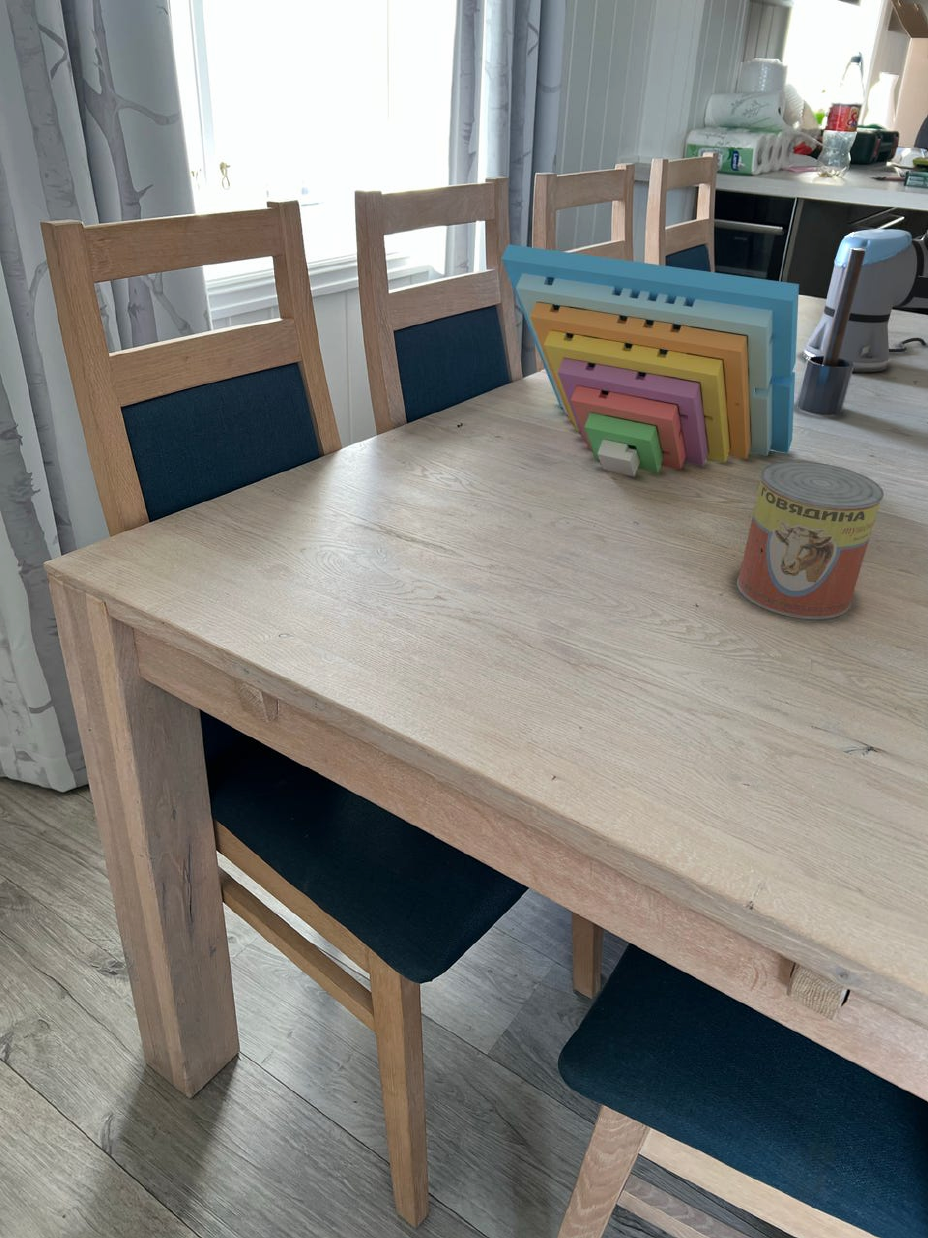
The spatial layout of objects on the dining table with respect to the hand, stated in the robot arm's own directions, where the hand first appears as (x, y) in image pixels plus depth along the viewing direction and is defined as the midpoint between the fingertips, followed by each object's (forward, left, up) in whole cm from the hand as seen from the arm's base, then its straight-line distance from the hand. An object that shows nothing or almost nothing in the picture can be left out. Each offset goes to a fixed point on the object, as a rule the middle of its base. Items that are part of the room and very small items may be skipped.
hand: (922, 279), depth 136 cm
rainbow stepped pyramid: (+36, -26, -22) cm, 49 cm away
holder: (0, -10, -22) cm, 24 cm away
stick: (0, -10, -21) cm, 23 cm away
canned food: (+66, +2, -22) cm, 69 cm away
